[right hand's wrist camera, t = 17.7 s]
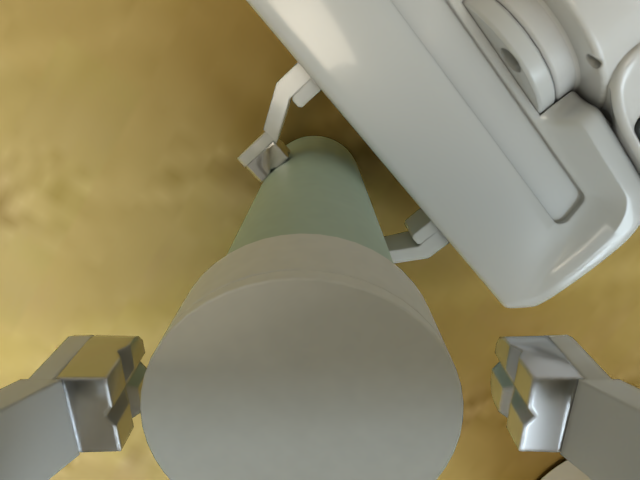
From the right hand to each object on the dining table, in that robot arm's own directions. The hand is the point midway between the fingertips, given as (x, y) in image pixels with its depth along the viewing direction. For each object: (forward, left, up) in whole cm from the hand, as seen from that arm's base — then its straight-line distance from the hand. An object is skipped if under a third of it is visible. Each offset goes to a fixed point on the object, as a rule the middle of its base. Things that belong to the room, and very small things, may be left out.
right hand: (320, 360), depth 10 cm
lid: (0, 0, +2) cm, 2 cm away
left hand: (0, +1, -11) cm, 11 cm away
